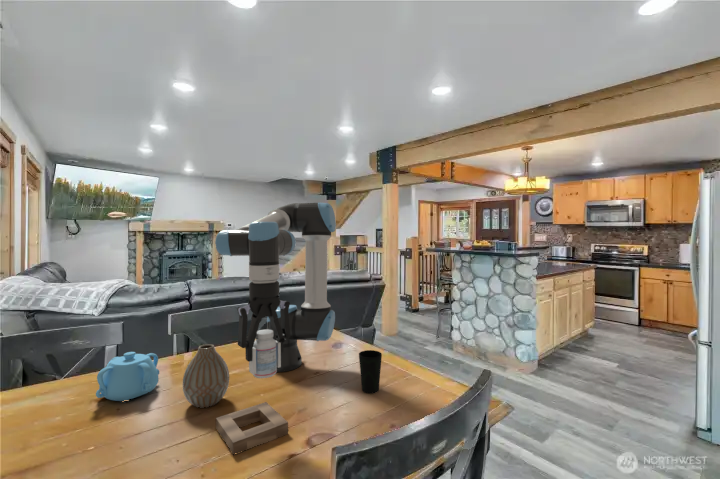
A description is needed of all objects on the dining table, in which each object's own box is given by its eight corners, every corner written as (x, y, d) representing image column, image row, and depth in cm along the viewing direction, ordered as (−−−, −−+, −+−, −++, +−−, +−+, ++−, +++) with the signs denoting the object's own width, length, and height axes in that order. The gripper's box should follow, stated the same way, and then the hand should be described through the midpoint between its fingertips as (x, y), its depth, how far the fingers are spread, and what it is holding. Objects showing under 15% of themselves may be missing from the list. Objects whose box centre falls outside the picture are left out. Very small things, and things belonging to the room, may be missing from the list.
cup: (380, 396, 109) (380, 358, 109) (356, 394, 110) (356, 357, 110) (383, 385, 116) (383, 350, 116) (361, 384, 118) (361, 349, 118)
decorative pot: (165, 381, 121) (165, 343, 121) (148, 403, 105) (148, 359, 105) (113, 386, 117) (113, 347, 117) (87, 409, 101) (87, 363, 101)
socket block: (215, 429, 90) (215, 417, 90) (266, 412, 99) (266, 401, 99) (233, 455, 79) (233, 442, 79) (288, 433, 88) (288, 422, 88)
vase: (238, 396, 109) (238, 342, 109) (207, 417, 97) (207, 355, 96) (205, 390, 113) (205, 338, 113) (172, 409, 101) (172, 350, 101)
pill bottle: (254, 370, 92) (254, 328, 92) (278, 369, 93) (277, 328, 92) (250, 379, 86) (250, 335, 86) (275, 378, 87) (274, 334, 86)
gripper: (232, 286, 79) (233, 384, 80) (303, 279, 92) (304, 364, 92) (221, 283, 85) (223, 374, 86) (290, 276, 98) (290, 356, 98)
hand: (265, 369), depth 89 cm, fingers closed on pill bottle, 6 cm apart
